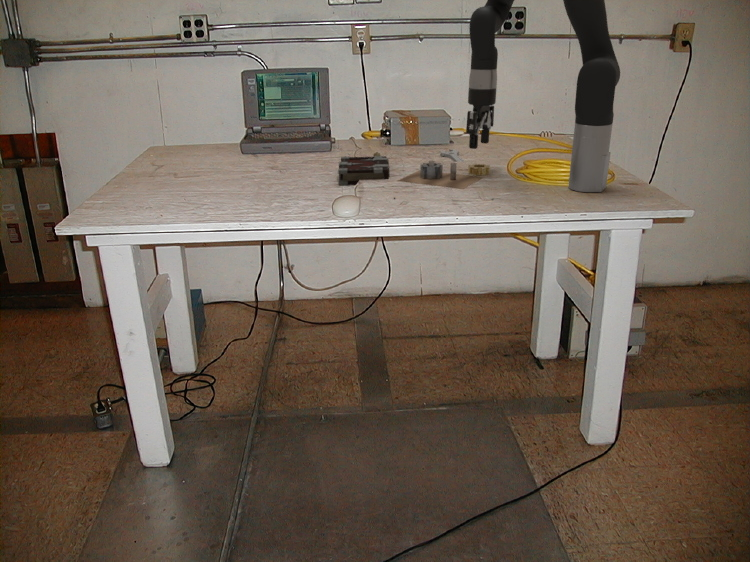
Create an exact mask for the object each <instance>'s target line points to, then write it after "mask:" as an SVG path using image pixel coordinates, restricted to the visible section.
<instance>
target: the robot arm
mask: <svg viewBox="0 0 750 562" xmlns="http://www.w3.org/2000/svg"><path fill="white" fill-rule="evenodd" d="M514 2H515V0H487V1H486V3H485V5H484V6H479V7H478V8H476V9H475V10H474V11H473V12H472V14H471V16H470V19H469V40H470V48H471V57H470V72H469V76H468V77H469V78H468V94H467V95H468V97H467V103H468V104H469V105H472V110H468V111H467V114H466V115H467V116H466V129H465V132H466V133H465V134H468V135H469V141H468V142H469V143H468V148H469V149H472V150H473V149H474V150H475V149H478V144H479V133H480V143H481V144H484V145H485V144H489V142H490V131H491V129H492V127H494V117H495V116H494V115H495V104H496V102H497V101H496V99H497V85H498V71H497V69H498V56H499V55H498V48H497V47H496V43H495V42H496V33H498V32H499V31H500V29H501V28H502V27H503V25H504V23H505V22H506V19H507V17H508V16H509V14H510V11H511V9H512V8H513V7H512V6H513V4H514ZM562 2H563V6H564V8H565V12H566V15H567V17H568V21H569V23H570V25H571V26H572V29H573V31H574V33H575V36H576V37H577V40H578V41H577V42H578V43H579V49H580V54H581V60H582V65H581V68H580V70H579V72H578V75H577V79H576V90H575V101H574V114H575V115H574V116H575V118H574V120H575V122H574V127H573V128H574V129H573V130H574V131H573V137H572V138H573V139H572V147H571V148H572V149H571V158H570V165H569V166H570V167H569V176H568V177H569V178H568V189H570V190H572V191H576V192H581V193H582V192H583V193H603V191H604V190H605V189H606V188H607V185H608V184H607V183H608V176H609V170H610V169H609V167H610V162H611V161H610V160H611V151H610V147H611V146H610V145H611V138H612V130H613V123H614V116H615V115H614V114H615V113H614V103H615V102H614V101H615V93H616V86H617V85H618V83H619V81H620V79H621V78H620V77H621V69H620V65H619V62H618V59H617V57H616V53H615V49H614V47H613V43H612V40H611V36H610V33H609V32H610V31H609V24H608V17H607V16H608V15H607V9H606V1H605V0H562ZM480 130H481V131H480Z"/></svg>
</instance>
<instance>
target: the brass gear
mask: <svg viewBox="0 0 750 562" xmlns="http://www.w3.org/2000/svg"><path fill="white" fill-rule="evenodd" d="M490 166H491V165H489V164H485V163H473V164H468V167H467V168H468V169H467V172H468V173H467V174H468V175H471V176H477V177H478V176H480V177H484V176H486V175H490V172H491V171H490V170H491V167H490Z"/></svg>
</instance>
